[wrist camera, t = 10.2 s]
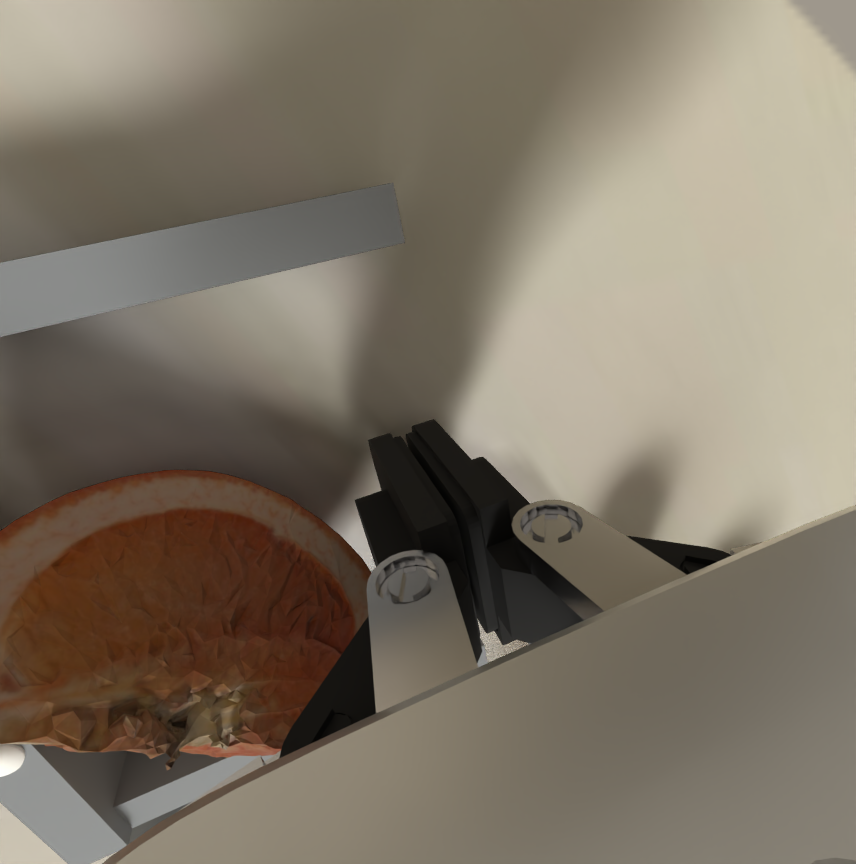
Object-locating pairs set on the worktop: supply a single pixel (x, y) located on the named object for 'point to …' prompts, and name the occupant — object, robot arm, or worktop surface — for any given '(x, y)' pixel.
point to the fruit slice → (171, 616)
